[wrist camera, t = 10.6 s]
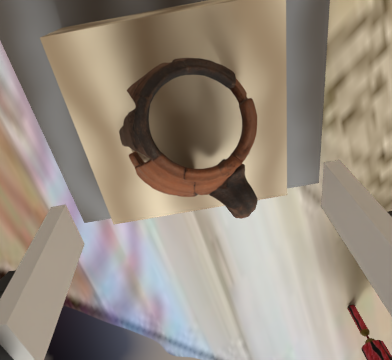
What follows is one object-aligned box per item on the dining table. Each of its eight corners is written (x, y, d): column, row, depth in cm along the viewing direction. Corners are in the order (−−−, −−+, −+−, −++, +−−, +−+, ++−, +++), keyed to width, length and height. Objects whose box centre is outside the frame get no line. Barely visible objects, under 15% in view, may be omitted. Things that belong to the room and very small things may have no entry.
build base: (325, -70, 24) (371, -86, 18) (313, 175, 35) (339, 211, 30) (-11, -5, 24) (-63, -1, 19) (87, 214, 36) (72, 256, 31)
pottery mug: (95, 137, 25) (81, 123, 17) (178, 55, 26) (201, 5, 18) (203, 237, 27) (235, 266, 19) (274, 157, 28) (334, 153, 20)
